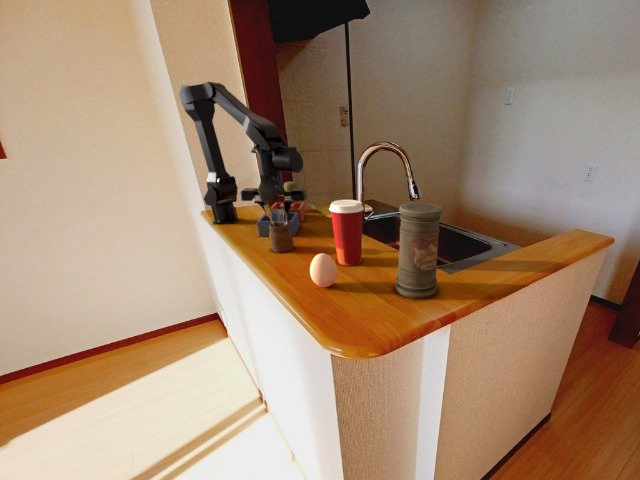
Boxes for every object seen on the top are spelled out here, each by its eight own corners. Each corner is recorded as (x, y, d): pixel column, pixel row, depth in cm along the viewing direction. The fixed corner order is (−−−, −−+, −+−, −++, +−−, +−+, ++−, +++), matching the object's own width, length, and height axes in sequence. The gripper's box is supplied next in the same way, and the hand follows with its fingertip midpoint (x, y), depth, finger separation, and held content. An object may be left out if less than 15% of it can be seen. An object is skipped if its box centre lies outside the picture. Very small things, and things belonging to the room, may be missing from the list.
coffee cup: (370, 257, 86) (368, 200, 78) (358, 269, 79) (355, 208, 71) (341, 253, 88) (337, 197, 80) (327, 265, 81) (321, 205, 73)
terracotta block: (281, 218, 114) (279, 206, 112) (284, 215, 118) (282, 203, 116) (294, 218, 115) (292, 206, 113) (296, 215, 119) (294, 203, 117)
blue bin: (259, 236, 99) (256, 221, 97) (267, 226, 108) (265, 212, 106) (294, 235, 100) (292, 221, 98) (299, 226, 109) (298, 212, 107)
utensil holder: (285, 254, 86) (278, 209, 80) (266, 250, 88) (257, 207, 82) (298, 247, 91) (292, 204, 85) (279, 244, 93) (272, 202, 87)
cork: (285, 209, 128) (281, 181, 122) (300, 208, 130) (297, 180, 124) (287, 213, 123) (283, 183, 117) (303, 212, 125) (299, 182, 120)
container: (387, 288, 70) (387, 205, 61) (415, 276, 76) (419, 199, 67) (417, 303, 65) (422, 215, 56) (444, 290, 70) (453, 207, 61)
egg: (343, 286, 70) (341, 254, 67) (320, 294, 67) (316, 261, 63) (329, 278, 74) (326, 247, 70) (307, 285, 71) (302, 253, 67)
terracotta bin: (271, 222, 112) (268, 209, 109) (277, 214, 121) (275, 202, 119) (301, 222, 113) (300, 209, 111) (306, 214, 122) (304, 202, 120)
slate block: (271, 227, 101) (268, 213, 99) (274, 223, 105) (271, 209, 102) (285, 227, 101) (283, 213, 99) (287, 223, 105) (286, 209, 103)
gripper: (228, 174, 87) (240, 229, 95) (298, 174, 89) (305, 229, 97) (241, 168, 96) (251, 219, 104) (304, 169, 98) (309, 219, 106)
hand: (279, 221), depth 103 cm, fingers closed on slate block, 4 cm apart
